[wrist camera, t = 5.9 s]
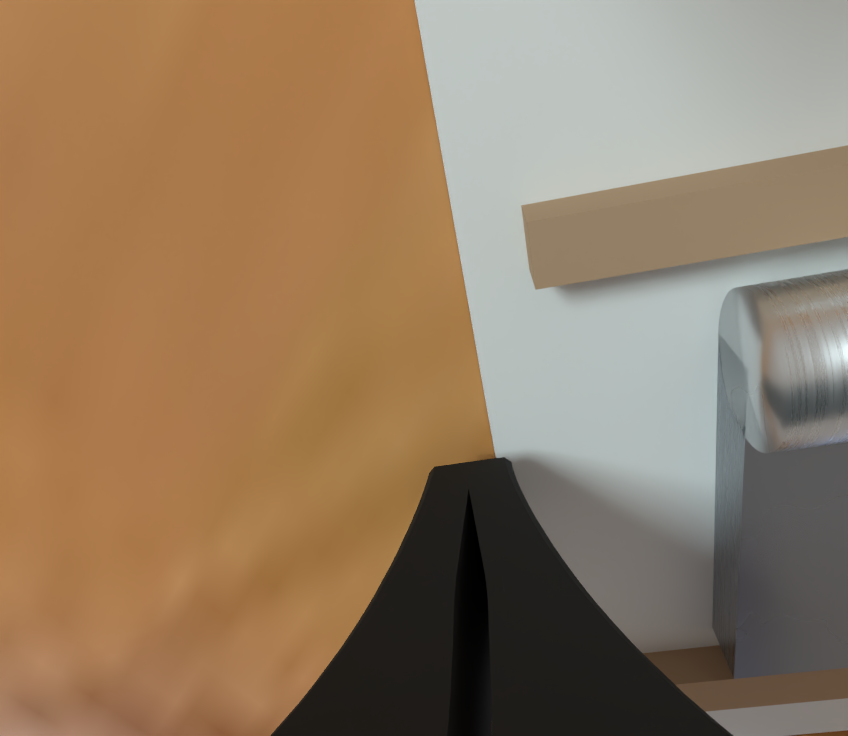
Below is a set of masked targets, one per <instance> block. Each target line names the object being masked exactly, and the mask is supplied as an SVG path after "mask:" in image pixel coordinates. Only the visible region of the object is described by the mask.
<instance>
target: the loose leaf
mask: <svg viewBox="0 0 848 736" xmlns="http://www.w3.org/2000/svg"><path fill="white" fill-rule="evenodd" d="M712 628H713V630H714V633H715V635H716V638H717V640H718V642H719V645H720V647H721V649H722V652H723V654H724V657H725V659H726V661H727V664H728V666H729V668H730V671H731V673H732V675H733V678H734V679H739V678H749V677H759V676H769V675H780V674H790V673H800V672H810V671H820V670H830V669H840V668H848V269H845V270H839V271H833V272H827V273H821V274H815V275H808V276H802V277H796V278H790V279H784V280H778V281H772V282H766V283H760V284H754V285H748V286H741V287H735V288H733V289H731V290H730V291H729V292H728V294H727V295H726V297H725V299H724V301H723V304H722V308H721V312H720V318H719V330H718V376H717V424H716V473H715V521H714V569H713V618H712Z"/></svg>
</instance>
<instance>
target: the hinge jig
mask: <svg viewBox="0 0 848 736" xmlns="http://www.w3.org/2000/svg"><path fill="white" fill-rule="evenodd" d="M415 6H416V11H417V17H418V23H419V28H420V34H421V39H422V45H423V51H424V56H425V62H426V68H427V73H428V79H429V84H430V90H431V96H432V101H433V107H434V113H435V118H436V124H437V129H438V135H439V141H440V146H441V152H442V158H443V163H444V169H445V174H446V180H447V186H448V191H449V197H450V203H451V208H452V214H453V219H454V225H455V231H456V236H457V242H458V248H459V253H460V259H461V264H462V270H463V276H464V281H465V287H466V293H467V298H468V304H469V310H470V315H471V321H472V326H473V332H474V338H475V343H476V349H477V355H478V360H479V366H480V371H481V377H482V383H483V388H484V394H485V400H486V405H487V411H488V416H489V422H490V428H491V433H492V439H493V445H494V450H495V456H496V458H502V457H505V458H506V459H508V460H509V461H511V462H512V467H513V470H514V473H515V476H516V479H517V481H518V484H519V486H520V488H521V490H522V493H523V494H524V496H525V498H526V500H527V502H528V504H529V506H530V508H531V510H532V512H533V513H534V515H535V517H536V519H537V520H538V522H539V523H540V525H541V527H542V528H543V530H544V531H545V533H546V535H547V536H548V538H549V539H550V541H551V543H552V544H553V546H554V547H555V548H556V550H557V551H558V553H559V554H560V556H561V557H562V559H563V560H564V561H565V563H566V564H567V565H568V567H569V568H570V570H571V571H572V572H573V574H574V575H575V576H576V578H577V579H578V580H579V582H580V583H581V584H582V585H583V587H584V588H585V589H586V591H587V592H588V593H589V594H590V596H591V597H592V598H593V599H594V600H595V602H596V603H597V604H598V605H599V606H600V607H601V609H602V610H603V611H604V612H605V613H606V614H607V616H608V617H609V618H610V619H611V620H612V621H613V622H614V624H615V625H616V626H617V627H618V628H619V629H620V630H621V631H622V632H623V633H624V634H625V635H626V637H627V638H628V639H629V640H630V641H631V642H632V643H633V644H634V645H635V646H636V647H637V648H638V649H639V650H640V651H641V652H642V653H643V654H644V655H645V656H646V657H647V658H648V659H649V660H650V661H651V662H652V663H653V664H654V665H655V666H656V667H657V668H658V669H659V670H660V671H662V672H663V673H664V674H665V675H666V676H667V677H668V678H669V679H670V680H671V681H672V682H673V683H674V684H675V685H676V686H677V687H678V688H679V689H680V690H681V691H682V692H683V693H684V694H685V695H687V696H688V697H689V698H690V699H691V700H692V701H694V702H695V703H696V704H697V705H698V706H699V707H700V708H702V709H703V710H704V711H705V712H706V713H707V714H708V715H710V716H711V717H712V718H713V719H714V720H715V721H716V722H718V723H719V724H720V725H721V726H722V727H724V728H725V729H726V730H727V731H728V732H730V733H731V734H732V735H733V736H789V735H800V734H811V733H823V732H834V731H845V730H848V668H840V669H830V670H820V671H810V672H800V673H790V674H780V675H769V676H759V677H749V678H739V679H734V678H733V675H732V673H731V671H730V668H729V666H728V664H727V661H726V659H725V657H724V654H723V652H722V649H721V647H720V645H719V642H718V640H717V638H716V635H715V633H714V630H713V628H712V618H713V569H714V521H715V473H716V424H717V376H718V330H719V318H720V312H721V308H722V304H723V301H724V299H725V297H726V295H727V294H728V292H729V291H730V290H731V289H733V288H735V287H741V286H748V285H754V284H760V283H766V282H772V281H778V280H784V279H790V278H796V277H802V276H808V275H815V274H821V273H827V272H833V271H839V270H845V269H848V0H415Z"/></svg>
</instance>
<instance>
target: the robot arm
mask: <svg viewBox="0 0 848 736" xmlns="http://www.w3.org/2000/svg"><path fill="white" fill-rule="evenodd" d="M271 736H733V735H732V734H731V733H730V732H728V731H727V730H726V729H725V728H724V727H722V726H721V725H720V724H719V723H718V722H716V721H715V720H714V719H713V718H712V717H711V716H710V715H708V714H707V713H706V712H705V711H704V710H703V709H702V708H700V707H699V706H698V705H697V704H696V703H695V702H694V701H692V700H691V699H690V698H689V697H688V696H687V695H685V694H684V693H683V692H682V691H681V690H680V689H679V688H678V687H677V686H676V685H675V684H674V683H673V682H672V681H671V680H670V679H669V678H668V677H667V676H666V675H665V674H664V673H663V672H662V671H660V670H659V669H658V668H657V667H656V666H655V665H654V664H653V663H652V662H651V661H650V660H649V659H648V658H647V657H646V656H645V655H644V654H643V653H642V652H641V651H640V650H639V649H638V648H637V647H636V646H635V645H634V644H633V643H632V642H631V641H630V640H629V639H628V638H627V637H626V635H625V634H624V633H623V632H622V631H621V630H620V629H619V628H618V627H617V626H616V625H615V624H614V622H613V621H612V620H611V619H610V618H609V617H608V616H607V614H606V613H605V612H604V611H603V610H602V609H601V607H600V606H599V605H598V604H597V603H596V602H595V600H594V599H593V598H592V597H591V596H590V594H589V593H588V592H587V591H586V589H585V588H584V587H583V585H582V584H581V583H580V582H579V580H578V579H577V578H576V576H575V575H574V574H573V572H572V571H571V570H570V568H569V567H568V565H567V564H566V563H565V561H564V560H563V559H562V557H561V556H560V554H559V553H558V551H557V550H556V548H555V547H554V546H553V544H552V543H551V541H550V539H549V538H548V536H547V535H546V533H545V531H544V530H543V528H542V527H541V525H540V523H539V522H538V520H537V519H536V517H535V515H534V513H533V512H532V510H531V508H530V506H529V504H528V502H527V500H526V498H525V496H524V494H523V493H522V490H521V488H520V486H519V484H518V481H517V479H516V476H515V473H514V470H513V467H512V462H511V461H509V460H508V459H506V458H505V457H502V458H495V459H487V460H480V461H473V462H466V463H458V464H451V465H444V466H437V467H434V468H433V469H432V470H431V472H430V473H429V476H428V480H427V483H426V486H425V489H424V492H423V494H422V497H421V500H420V502H419V505H418V507H417V510H416V512H415V515H414V517H413V520H412V522H411V524H410V526H409V529H408V531H407V533H406V535H405V537H404V539H403V541H402V544H401V546H400V548H399V550H398V552H397V554H396V556H395V558H394V560H393V562H392V564H391V566H390V568H389V570H388V571H387V573H386V575H385V577H384V579H383V581H382V582H381V584H380V586H379V588H378V590H377V592H376V593H375V595H374V597H373V599H372V600H371V602H370V604H369V605H368V607H367V609H366V610H365V612H364V614H363V615H362V617H361V618H360V620H359V622H358V623H357V625H356V626H355V628H354V629H353V631H352V632H351V634H350V635H349V637H348V638H347V640H346V641H345V643H344V644H343V646H342V647H341V649H340V650H339V651H338V653H337V654H336V655H335V657H334V658H333V659H332V661H331V662H330V664H329V665H328V666H327V668H326V669H325V670H324V672H323V673H322V674H321V676H320V677H319V678H318V680H317V681H316V682H315V684H314V685H313V686H312V687H311V689H310V690H309V691H308V693H307V694H306V695H305V696H304V698H303V699H302V700H301V701H300V702H299V704H298V705H297V706H296V707H295V708H294V709H293V711H292V712H291V713H290V714H289V715H288V716H287V717H286V719H285V720H284V721H283V722H282V723H281V724H280V725H279V727H278V728H277V729H276V730H275V731H274V732H273V733H272V734H271Z"/></svg>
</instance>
